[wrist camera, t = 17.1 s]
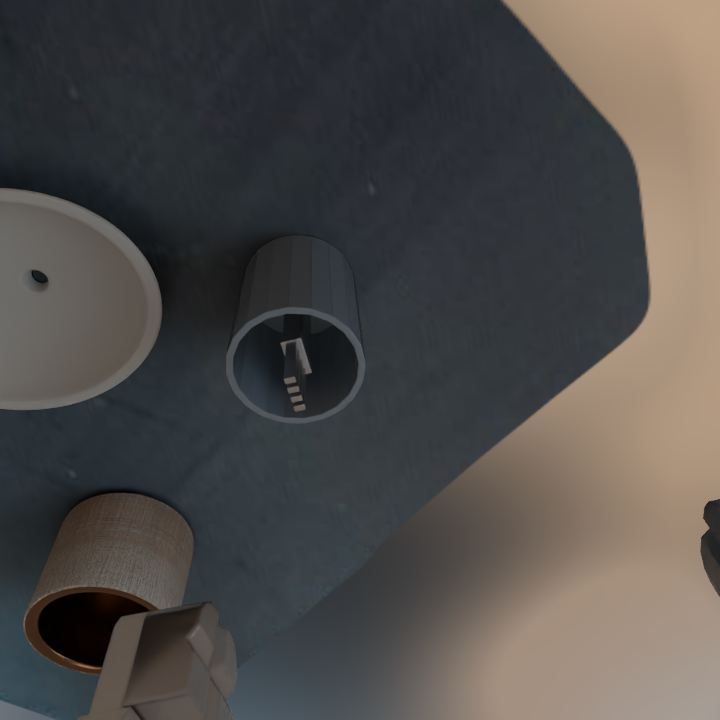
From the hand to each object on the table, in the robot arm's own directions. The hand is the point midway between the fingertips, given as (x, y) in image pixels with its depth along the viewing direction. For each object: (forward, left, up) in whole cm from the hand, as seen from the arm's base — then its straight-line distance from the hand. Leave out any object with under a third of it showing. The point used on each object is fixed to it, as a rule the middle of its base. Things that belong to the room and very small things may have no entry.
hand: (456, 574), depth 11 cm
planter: (+26, +29, -33) cm, 51 cm away
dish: (+22, +5, -33) cm, 40 cm away
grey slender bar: (+6, +10, -32) cm, 34 cm away
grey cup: (+6, +10, -33) cm, 35 cm away
